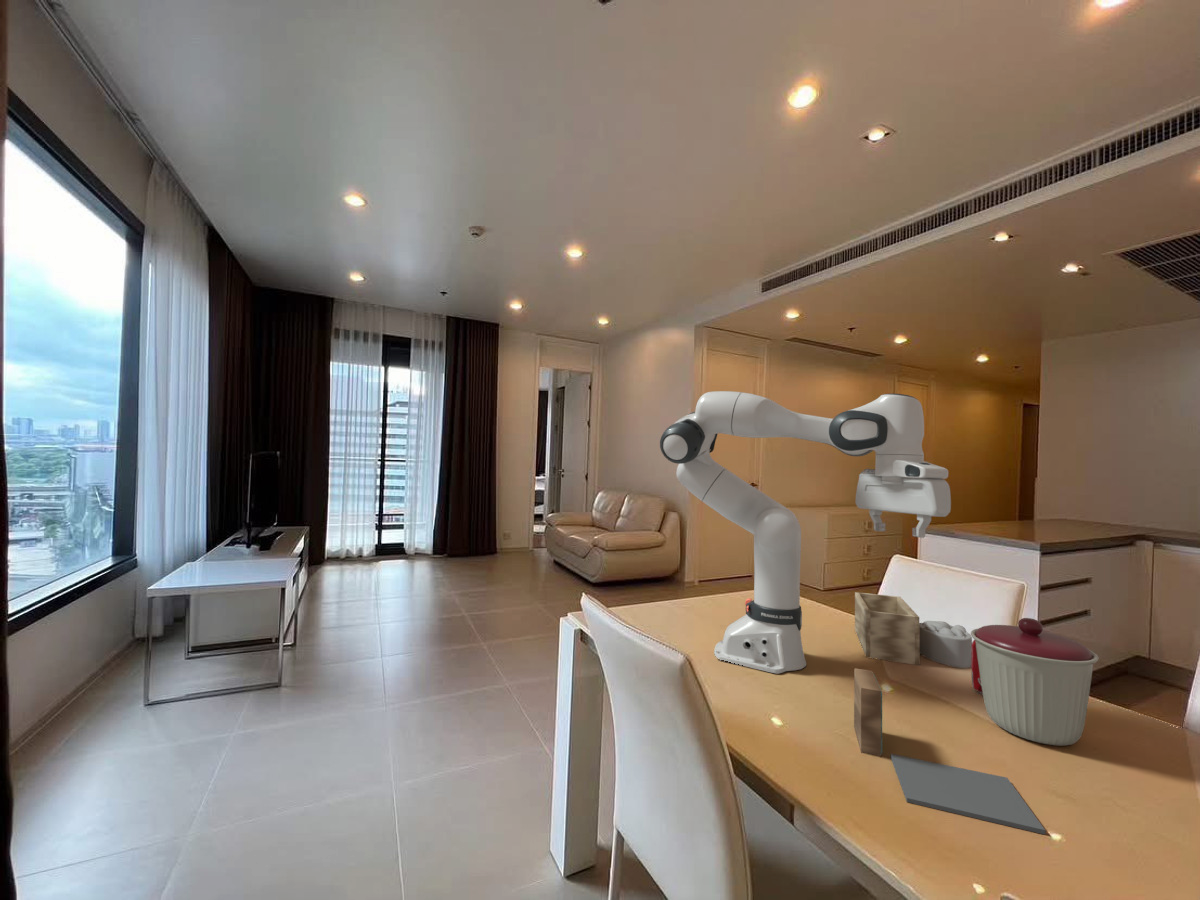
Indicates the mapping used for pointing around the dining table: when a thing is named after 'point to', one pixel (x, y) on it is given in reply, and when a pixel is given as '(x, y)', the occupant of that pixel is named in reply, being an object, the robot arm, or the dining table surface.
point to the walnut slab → (868, 712)
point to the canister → (1034, 681)
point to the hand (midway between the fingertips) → (898, 533)
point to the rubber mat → (964, 793)
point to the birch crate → (887, 628)
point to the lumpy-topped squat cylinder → (945, 643)
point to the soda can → (975, 669)
